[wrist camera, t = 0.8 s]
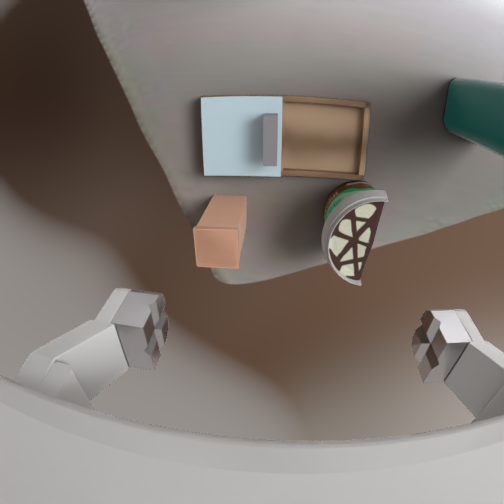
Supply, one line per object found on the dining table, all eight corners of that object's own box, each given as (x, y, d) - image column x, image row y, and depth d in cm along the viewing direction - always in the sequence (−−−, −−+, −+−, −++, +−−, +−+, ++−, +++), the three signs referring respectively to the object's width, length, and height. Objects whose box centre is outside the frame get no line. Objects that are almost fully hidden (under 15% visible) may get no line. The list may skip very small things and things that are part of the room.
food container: (324, 162, 40) (336, 186, 32) (367, 171, 40) (390, 197, 32) (307, 243, 47) (312, 283, 38) (347, 249, 46) (360, 289, 38)
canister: (212, 193, 44) (193, 228, 34) (247, 194, 44) (237, 230, 34) (214, 225, 46) (197, 266, 37) (247, 226, 46) (238, 268, 37)
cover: (202, 97, 36) (195, 98, 33) (282, 96, 35) (282, 97, 32) (205, 174, 41) (199, 182, 38) (280, 175, 40) (280, 183, 37)
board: (203, 96, 37) (200, 96, 36) (367, 102, 35) (370, 103, 34) (206, 171, 42) (203, 174, 41) (361, 177, 41) (363, 180, 40)
